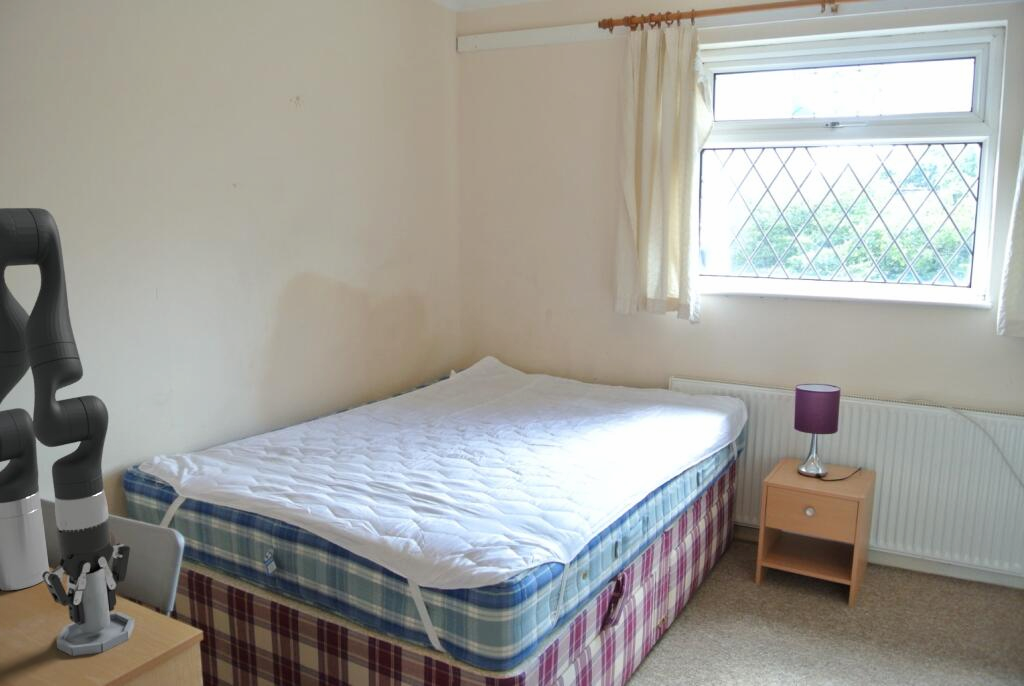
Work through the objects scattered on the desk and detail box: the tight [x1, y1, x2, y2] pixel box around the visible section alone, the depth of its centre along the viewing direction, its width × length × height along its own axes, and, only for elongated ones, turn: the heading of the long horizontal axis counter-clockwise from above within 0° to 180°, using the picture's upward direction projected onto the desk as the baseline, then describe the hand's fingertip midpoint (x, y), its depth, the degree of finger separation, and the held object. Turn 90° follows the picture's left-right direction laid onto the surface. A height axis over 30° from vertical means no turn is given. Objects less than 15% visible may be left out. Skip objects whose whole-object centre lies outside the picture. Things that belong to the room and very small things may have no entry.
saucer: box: [55, 611, 135, 657], centre depth 138 cm, size 11×11×1 cm
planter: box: [74, 567, 111, 633], centre depth 137 cm, size 4×4×10 cm
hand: (93, 615), depth 137 cm, fingers closed on planter, 4 cm apart
